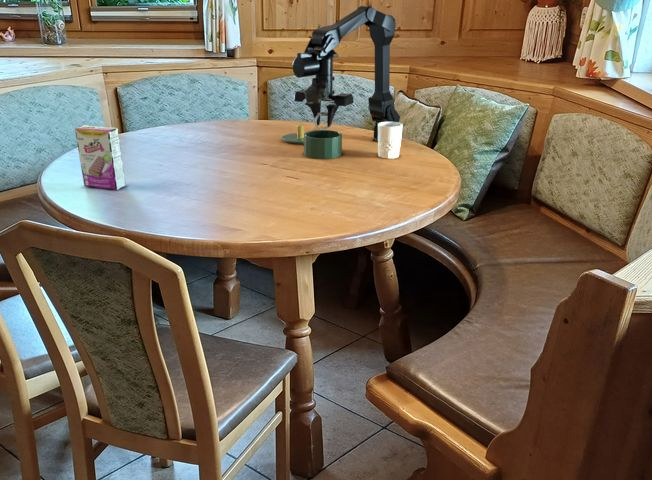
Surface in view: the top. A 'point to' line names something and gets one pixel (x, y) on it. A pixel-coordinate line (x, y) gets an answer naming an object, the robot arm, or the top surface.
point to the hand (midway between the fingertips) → (323, 125)
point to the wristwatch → (317, 118)
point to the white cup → (389, 139)
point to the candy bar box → (100, 157)
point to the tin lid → (295, 136)
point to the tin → (322, 144)
